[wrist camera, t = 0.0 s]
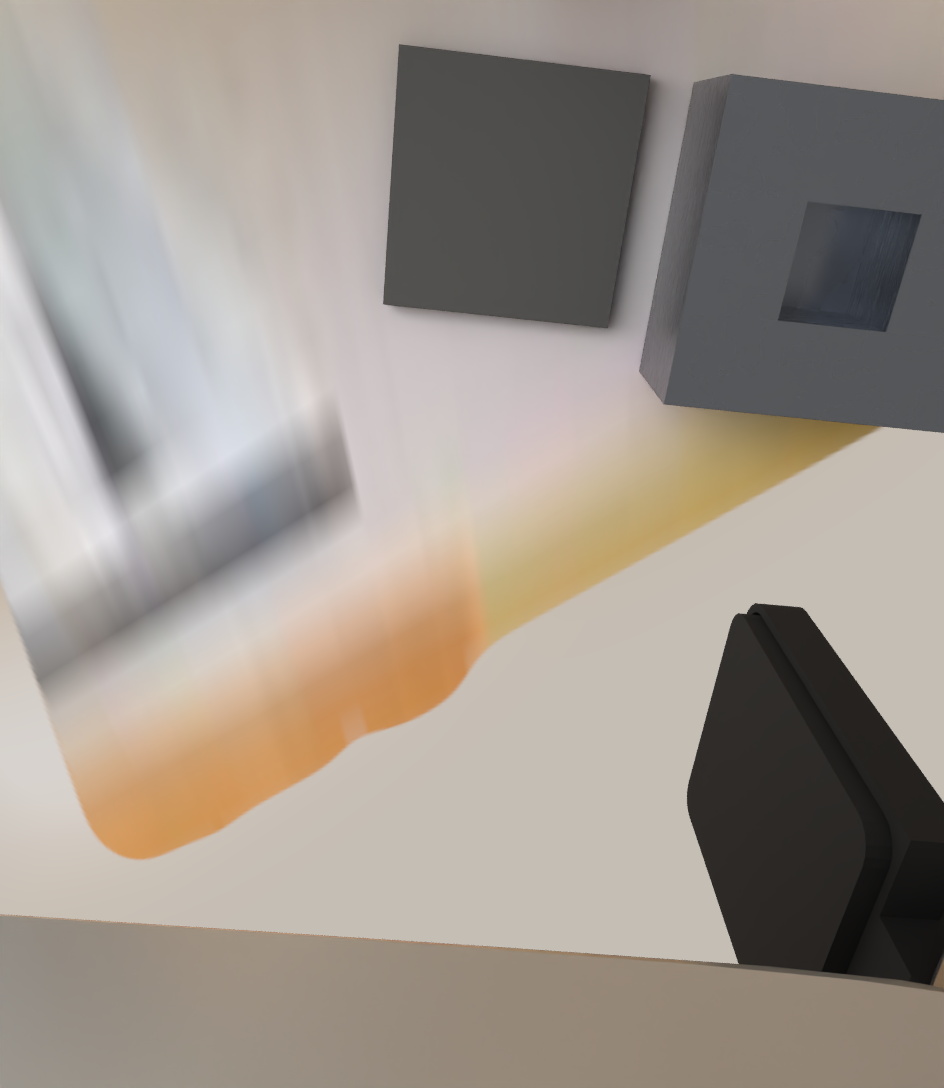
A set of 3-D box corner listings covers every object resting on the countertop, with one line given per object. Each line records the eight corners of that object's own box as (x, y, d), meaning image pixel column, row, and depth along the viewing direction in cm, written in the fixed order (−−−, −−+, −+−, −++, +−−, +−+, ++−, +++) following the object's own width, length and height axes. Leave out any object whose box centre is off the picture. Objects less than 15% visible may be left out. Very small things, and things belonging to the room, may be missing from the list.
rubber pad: (401, 46, 35) (399, 44, 34) (645, 76, 36) (650, 75, 35) (385, 300, 39) (383, 304, 38) (604, 323, 40) (607, 328, 39)
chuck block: (694, 82, 36) (731, 74, 31) (976, 116, 36) (1058, 114, 31) (639, 371, 41) (663, 404, 36) (888, 397, 41) (946, 433, 36)
